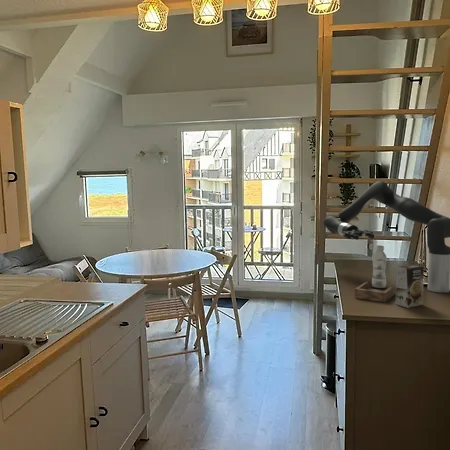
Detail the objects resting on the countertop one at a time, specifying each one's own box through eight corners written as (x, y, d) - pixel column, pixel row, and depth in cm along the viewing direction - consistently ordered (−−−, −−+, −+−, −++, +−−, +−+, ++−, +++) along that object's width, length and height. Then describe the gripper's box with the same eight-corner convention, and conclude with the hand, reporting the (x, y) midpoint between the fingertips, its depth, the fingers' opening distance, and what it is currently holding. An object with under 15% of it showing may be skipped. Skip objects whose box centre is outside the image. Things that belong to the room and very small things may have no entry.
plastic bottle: (378, 290, 200) (379, 247, 198) (368, 287, 207) (369, 245, 204) (389, 288, 203) (390, 246, 201) (378, 285, 209) (379, 244, 207)
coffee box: (408, 308, 173) (409, 268, 172) (395, 304, 179) (396, 265, 177) (423, 304, 177) (424, 266, 176) (410, 301, 183) (411, 263, 181)
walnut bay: (394, 294, 194) (395, 285, 193) (385, 302, 182) (385, 293, 181) (365, 290, 201) (365, 281, 201) (354, 297, 189) (354, 288, 189)
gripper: (336, 224, 225) (353, 230, 210) (360, 223, 229) (379, 228, 213) (335, 238, 226) (352, 245, 211) (359, 236, 230) (377, 243, 215)
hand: (365, 237), depth 212 cm, fingers open, 8 cm apart
